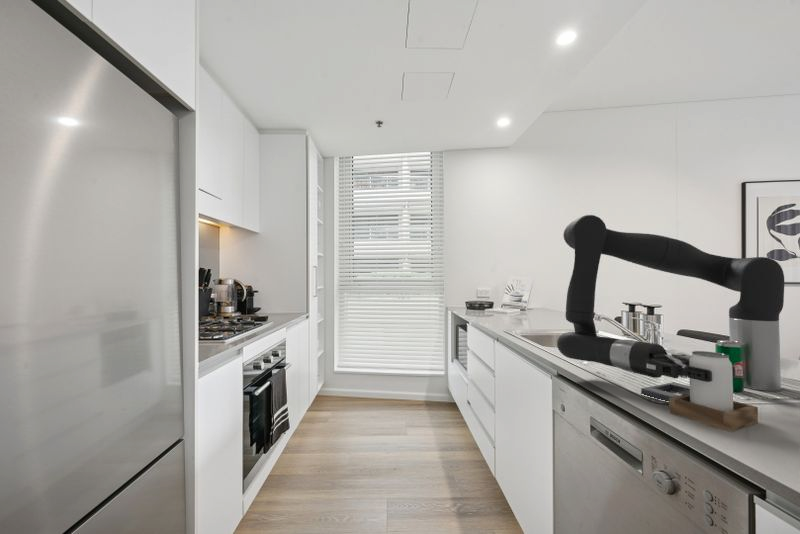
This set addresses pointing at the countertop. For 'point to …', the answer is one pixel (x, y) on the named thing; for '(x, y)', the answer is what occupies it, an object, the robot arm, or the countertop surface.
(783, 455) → the countertop surface
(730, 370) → the can
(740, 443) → the countertop surface
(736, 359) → the soda can
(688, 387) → the gray rectangular tray
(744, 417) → the open wooden box
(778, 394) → the countertop surface
